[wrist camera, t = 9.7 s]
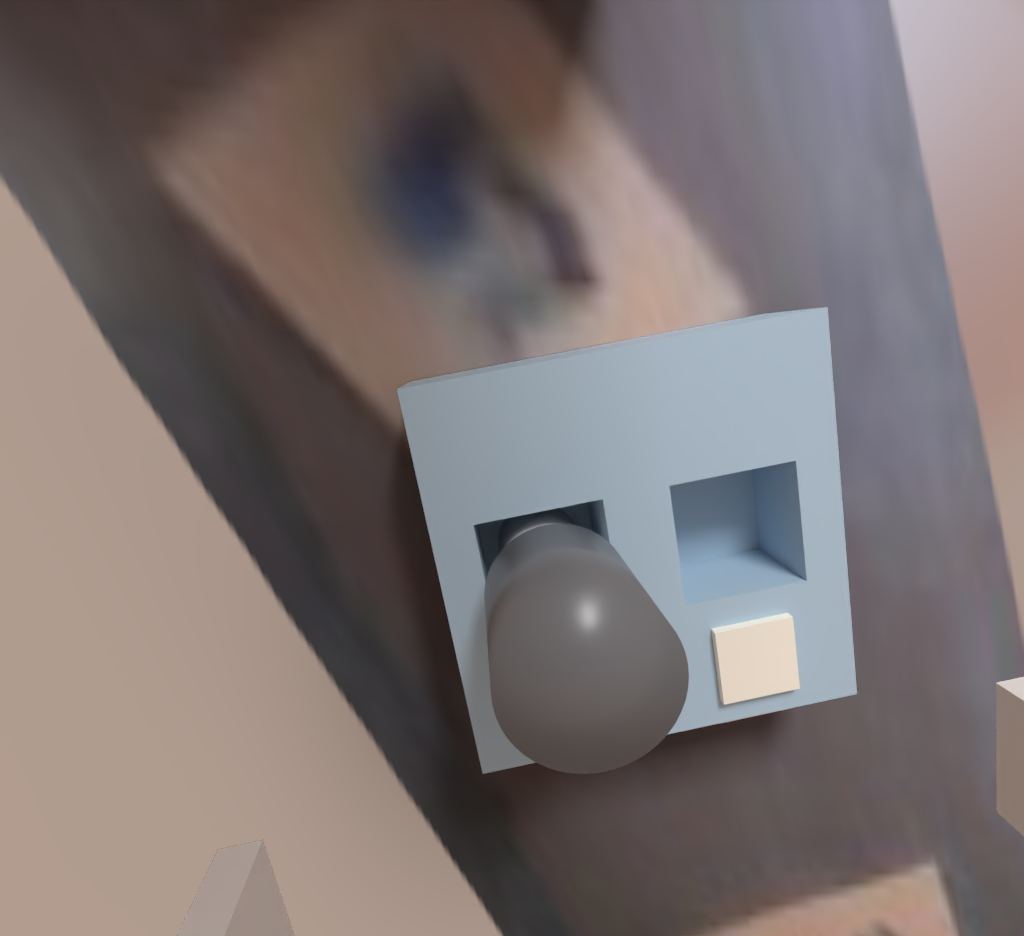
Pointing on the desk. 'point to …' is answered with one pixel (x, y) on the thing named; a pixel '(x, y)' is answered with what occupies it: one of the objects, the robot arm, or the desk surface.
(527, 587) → the grey piece
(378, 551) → the desk surface
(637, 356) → the socket board
